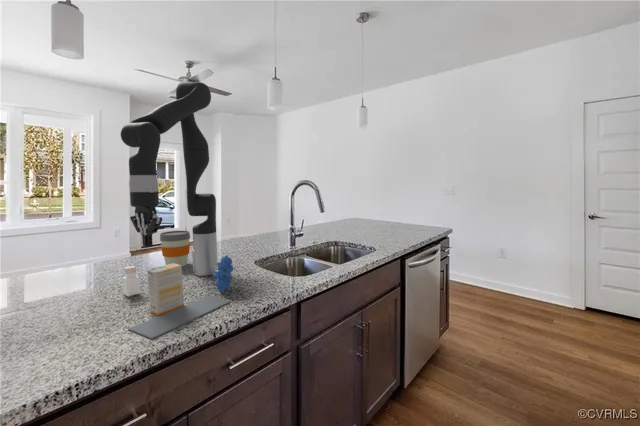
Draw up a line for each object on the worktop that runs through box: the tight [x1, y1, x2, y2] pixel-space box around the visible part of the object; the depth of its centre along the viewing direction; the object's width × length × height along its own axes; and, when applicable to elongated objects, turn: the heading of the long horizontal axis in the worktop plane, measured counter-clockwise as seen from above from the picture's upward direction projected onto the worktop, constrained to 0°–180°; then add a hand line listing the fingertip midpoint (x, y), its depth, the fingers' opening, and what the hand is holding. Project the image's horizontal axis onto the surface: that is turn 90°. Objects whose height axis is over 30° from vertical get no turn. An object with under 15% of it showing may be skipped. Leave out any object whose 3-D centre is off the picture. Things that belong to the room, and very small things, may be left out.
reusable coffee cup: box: [159, 230, 191, 267], centre depth 140 cm, size 13×13×15 cm
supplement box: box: [146, 263, 185, 317], centre depth 91 cm, size 8×5×13 cm, turn 145°
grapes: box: [213, 255, 235, 293], centre depth 108 cm, size 12×7×12 cm, turn 174°
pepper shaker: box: [122, 265, 141, 297], centre depth 104 cm, size 4×4×10 cm
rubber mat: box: [128, 295, 231, 340], centre depth 88 cm, size 10×26×1 cm, turn 151°
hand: (147, 246), depth 94 cm, fingers closed
